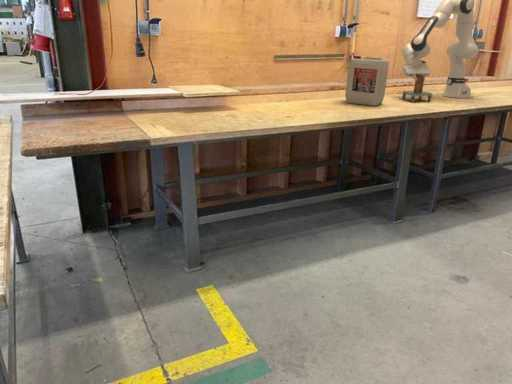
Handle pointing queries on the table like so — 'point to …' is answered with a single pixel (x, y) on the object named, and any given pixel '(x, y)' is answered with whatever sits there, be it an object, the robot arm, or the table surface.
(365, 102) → the jerry can
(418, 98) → the step stool
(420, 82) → the walnut post
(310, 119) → the table surface
